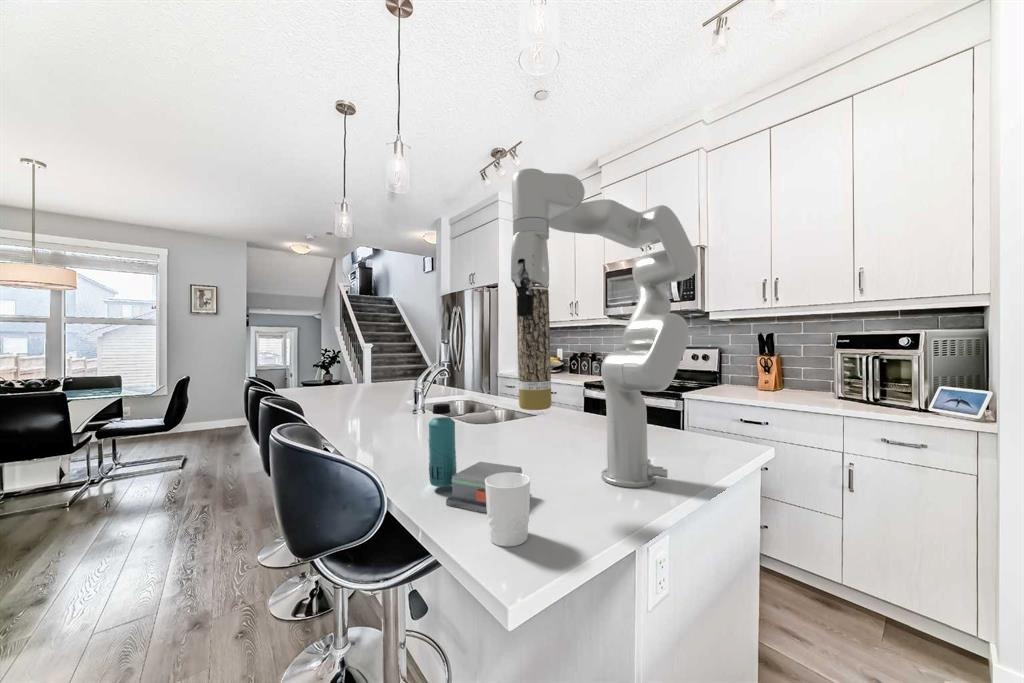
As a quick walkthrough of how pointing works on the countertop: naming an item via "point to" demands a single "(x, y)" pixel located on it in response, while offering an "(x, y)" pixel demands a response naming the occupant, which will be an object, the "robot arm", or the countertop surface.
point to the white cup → (508, 508)
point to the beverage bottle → (442, 447)
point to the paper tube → (534, 353)
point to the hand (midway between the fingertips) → (533, 316)
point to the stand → (475, 485)
